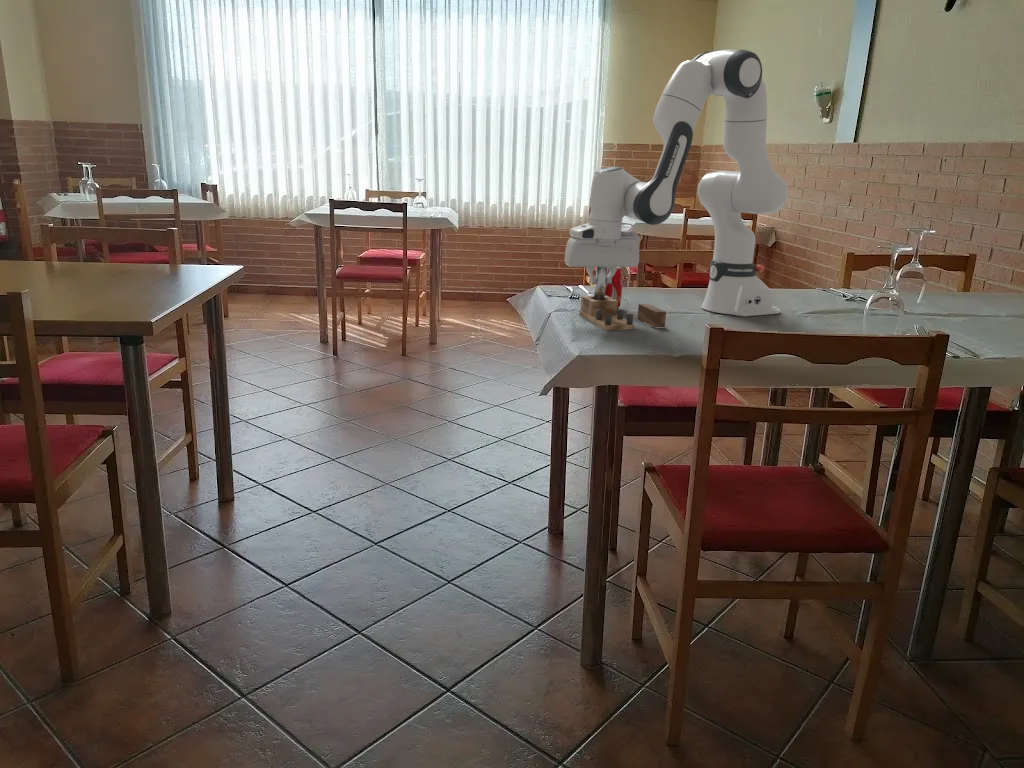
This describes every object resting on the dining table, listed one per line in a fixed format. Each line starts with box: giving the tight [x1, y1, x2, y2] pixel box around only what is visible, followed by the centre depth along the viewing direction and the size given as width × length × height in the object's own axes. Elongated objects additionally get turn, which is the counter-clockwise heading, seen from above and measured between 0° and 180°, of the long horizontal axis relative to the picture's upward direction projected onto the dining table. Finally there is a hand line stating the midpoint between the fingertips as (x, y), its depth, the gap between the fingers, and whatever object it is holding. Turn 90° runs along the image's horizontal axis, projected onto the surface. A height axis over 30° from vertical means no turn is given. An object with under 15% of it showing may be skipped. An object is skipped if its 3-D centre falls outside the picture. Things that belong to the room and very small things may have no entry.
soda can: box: [605, 267, 624, 309], centre depth 221 cm, size 7×7×12 cm
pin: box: [593, 267, 607, 300], centre depth 207 cm, size 3×3×9 cm
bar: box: [636, 303, 667, 328], centre depth 205 cm, size 3×10×4 cm, turn 17°
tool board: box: [578, 295, 636, 331], centre depth 204 cm, size 8×18×5 cm, turn 17°
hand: (600, 283), depth 207 cm, fingers closed on pin, 3 cm apart
